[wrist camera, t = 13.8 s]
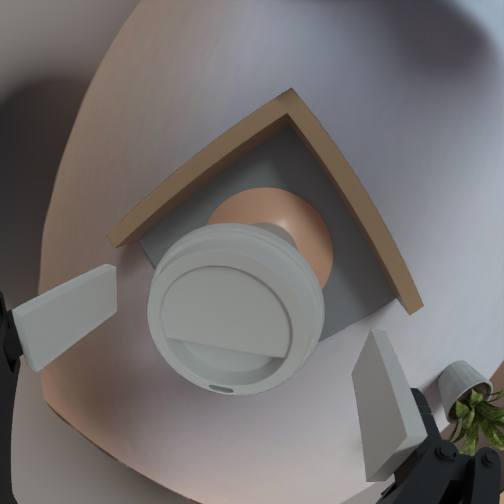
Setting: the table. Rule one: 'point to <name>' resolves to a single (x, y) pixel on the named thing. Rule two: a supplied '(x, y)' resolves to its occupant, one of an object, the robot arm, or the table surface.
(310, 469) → the table surface
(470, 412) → the house plant
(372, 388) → the robot arm
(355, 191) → the tray
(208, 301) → the coffee cup
